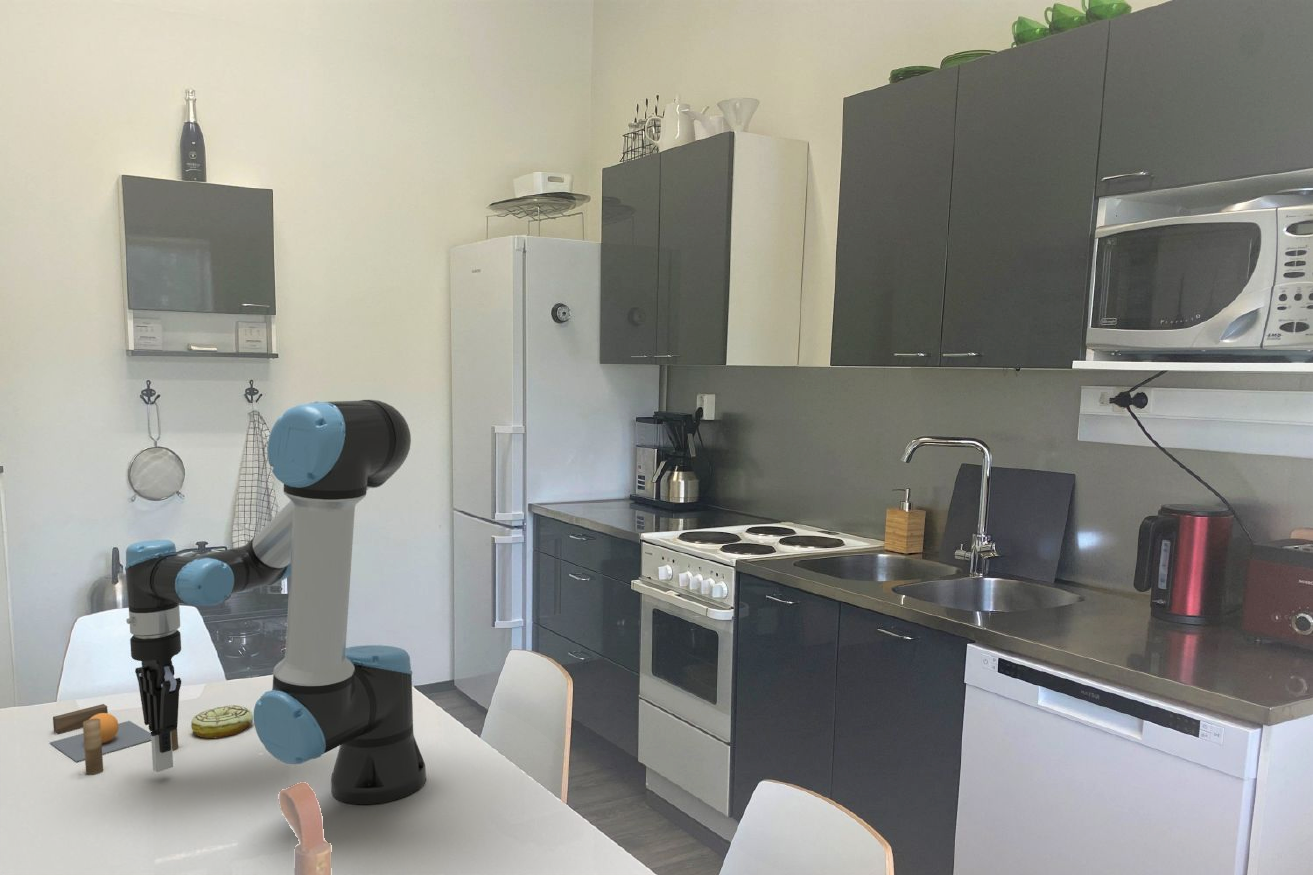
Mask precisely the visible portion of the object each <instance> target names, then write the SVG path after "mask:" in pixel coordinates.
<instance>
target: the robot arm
mask: <svg viewBox="0 0 1313 875" xmlns="http://www.w3.org/2000/svg"><path fill="white" fill-rule="evenodd" d="M410 430H411V429H410V427H409V424H408V423H407V420H406V418H405V417H404V416H403V415H402V413H401V412H400V411H399V410H398V409H396V407H394V406H392V405H390V404H388V403H386V402H384V401H381V400H376V399H362V400H343V401H342V400H341V401H339V400H337V401H314V402H310V403H305V404H298V405H295V406H292V407H291V408H289V409H287V410H286V411H285V412H284V413H283V414H282V415H281V416H279V417H278V418H277V420H276V421H275V422H274V423H273V426H272V428H271V430H270V434H269V437H268V439H267V440H268V441H267V450H266V451H267V452H266V453H267V459H268V460H267V461H268V464H269V466H270V467H272V468H273V469H272V470H271V471H272V472H271V473H273V475H274V477H275V478H276V479H277V480H278V481H279V482H280V483H282V484H283V490H282V491H283V494H284V495H285V496H286V497H287V498H289V500H290V501H288V503H287V504H286V505H285V506H284V507H283V508H282V509H281V510H280V511H278V513H277V514H276V515H275V516H274V517H273V518H272V519H271V520H270V521H269V522H268V523H267V524H266V525H265V526H264V527H263V528H262V529H261V530H260V531H259V532H258V533H257V534H256V535H255V536H254V537H253V538H252V539H250V541H248V543H246V544H244V545H243V546H239V547H235V548H229V549H225V550H222V551H216V552H212V553H208V554H202V555H198V556H180V555H178V552H177V548H176V544H175V542H173V541H172V540H169V539H153V540H143V541H138V542H134V543H131V544H130V545H128V547H126V550H125V567H124V571H125V577H126V578H125V580H126V592H127V604H128V616H129V617H128V618H126V620H125V621H126V624H128V625H129V634H131V635H132V636H131V638H130V639H129V642H130V656H131V658H132V659H133V660H134V661H138V662H141V666H140V667H135V671H134V672H135V675H136V679H137V683H138V688H139V689H138V690H139V695H140V702H141V709H142V710H141V711H142V714H143V715H142V716H143V721H144V725H145V726H148V730H149V732H150V733H151V741H150V742H151V743H150V744H151V755H152V756H151V758H152V770H153V772H155V773H159V772H162V771H165V770H169V769H172V768H174V756H173V751H172V736H171V731H173V730H176V729H177V730H178V721H179V702H180V690H181V685H182V679H181V678H180V677H177V678H175V677H174V676H175V667H174V665H173V660H172V659H173V658H174V657H175V656H177V655H178V654H179V653H181V652H182V639H181V638H182V636H181V635H182V634H181V631H180V630H178V629H179V628H180V627H181V616H180V614H181V611H180V604H186V605H190V606H195V607H205V606H206V607H213V606H217V605H220V604H221V603H223V602H224V601H225V600H226V599H227V598H228V597H229V596H230V595H234V594H237V593H242V592H245V591H250V590H253V589H257V588H261V587H265V586H273V585H274V584H276V583H278V582H281V581H284V580H286V579H287V578H288V577H289V581H288V582H289V584H288V603H287V617H286V618H287V619H286V620H287V621H286V635H285V636H286V638H285V654H284V658H283V659H282V660H280V661H279V662H278V663H276V665H274V667H273V671H272V672H273V676H272V688H271V690H268V691H265V692H264V693H263V694H262V695H261V696H260V698H258V699H257V700H256V702H255V704H254V707H253V714H252V715H253V723H254V728H255V731H256V732H255V733H256V734H257V737H258V739H259V740H260V742H261V743H262V745H263V746H264V748H265V749H266V751H267V752H268V753H269V754H270V755H271V756H272V757H274V758H275V759H276V760H278V761H279V762H283V763H284V764H289V765H300V764H304V763H306V762H308V761H310V760H314V759H318V758H320V757H322V755H324V754H325V753H328V752H329V751H331V750H334V749H336V748H339V749H338V752H337V756H336V760H335V763H334V767H333V769H332V770H333V771H332V773H331V778H330V789H331V794H332V796H333V797H334V798H335V799H336V800H338V801H340V802H343V803H346V804H353V805H373V804H374V805H376V804H382V803H388V802H392V801H396V800H399V799H403V798H404V797H407V796H410V795H411V794H413V793H415V792H417V791H418V790H420V789H421V788H422V787H423V786H424V784H425V782H426V780H427V775H426V772H427V770H426V764H425V761H424V758H423V755H422V753H421V751H420V748H419V745H418V743H417V740H416V737H415V735H414V718H413V717H414V712H413V711H414V710H413V707H414V706H413V681H412V680H413V678H412V677H413V676H412V675H413V671H412V667H411V657H410V655H409V653H408V652H407V651H406V650H405V649H403V648H402V647H397V646H392V645H391V646H390V645H383V644H382V645H376V644H375V645H373V644H371V645H370V644H369V645H368V644H367V645H356V646H350V647H347V633H348V618H349V617H348V616H349V603H350V600H349V599H350V591H351V590H350V588H351V587H350V586H351V585H350V584H351V573H352V571H351V570H352V558H353V557H352V556H353V555H352V554H353V544H354V543H353V540H354V528H355V526H354V525H355V511H356V506H357V504H358V503H360V502H361V501H362V500H363V499H364V498H365V497H366V496H367V491H368V490H369V489H376V488H380V487H381V486H382V485H384V484H385V483H386V482H387V481H388V480H389V479H391V477H392V476H393V475H394V474H395V473H396V472H398V470H399V469H400V468H401V466H402V465H403V464H404V463H405V461H406V460H407V458H408V455H409V452H410V449H411V444H412V443H411V442H412V438H411V431H410Z"/></svg>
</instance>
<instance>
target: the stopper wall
mask: <svg viewBox="0 0 1313 875" xmlns="http://www.w3.org/2000/svg"><path fill="white" fill-rule="evenodd" d="M99 713H108V714H109V712H108V705H107V704H104V703H102V704H98V705H94V706H91V707H86V708H82V709H79V710H75V711H72V712H71V711H70V712H67V713H64V714H60V715H59V714H58V715H55V716H52V724H53V725H52V726H53V732H54V733H55V734H56V735H59V734H60V735H61V734H64V733H68V732H71V731H75V730H78V729H83V722H84V721H86V720H89V719H90V718H91V717H93V716H94V715H96V714H99ZM67 731H68V732H67Z"/></svg>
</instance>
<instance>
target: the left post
mask: <svg viewBox="0 0 1313 875" xmlns="http://www.w3.org/2000/svg"><path fill="white" fill-rule="evenodd" d="M82 729H83V731H82V732H83V734H84V749H85V760H84V762H85V764H84V766H85V774H86V775H88V776H89V775H91V776H92V775H97V774H101V773H103V771H104V761H103V759H104V758H103V757H104V756H103V755H102V741H101V725H100V719H89V720H86V721H84V722H83V728H82Z"/></svg>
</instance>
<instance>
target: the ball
mask: <svg viewBox="0 0 1313 875" xmlns="http://www.w3.org/2000/svg"><path fill="white" fill-rule="evenodd" d="M90 719H100V725H101V741H102V744H104V743H107V742H109V741H110V740H112V739H113V738H114V737H115V735H116V734H117V732H118V728H119V725H118V724H119V721H118V719H117V718H116V717H115V716H114V715H113V714H111V713H109V712H108V713H99V714H96V715H94V716H93V717H91V718H90Z"/></svg>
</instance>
